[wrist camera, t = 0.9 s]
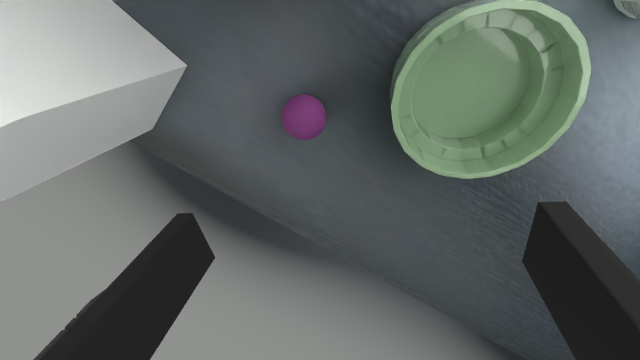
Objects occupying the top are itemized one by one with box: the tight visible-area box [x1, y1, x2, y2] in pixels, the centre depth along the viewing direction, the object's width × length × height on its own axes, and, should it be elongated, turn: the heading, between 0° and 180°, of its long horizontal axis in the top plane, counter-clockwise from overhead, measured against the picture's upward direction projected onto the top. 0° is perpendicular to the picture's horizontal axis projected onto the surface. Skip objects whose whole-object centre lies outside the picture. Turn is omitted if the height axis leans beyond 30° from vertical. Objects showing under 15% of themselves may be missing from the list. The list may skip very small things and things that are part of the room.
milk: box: [0, 0, 187, 202], centre depth 24 cm, size 12×12×26 cm
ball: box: [282, 94, 326, 140], centre depth 32 cm, size 5×5×5 cm
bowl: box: [389, 0, 592, 179], centre depth 27 cm, size 15×15×6 cm
